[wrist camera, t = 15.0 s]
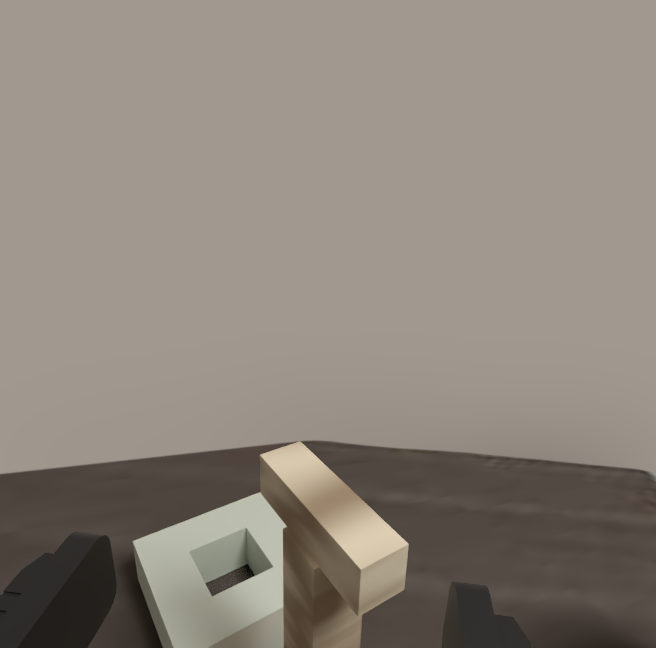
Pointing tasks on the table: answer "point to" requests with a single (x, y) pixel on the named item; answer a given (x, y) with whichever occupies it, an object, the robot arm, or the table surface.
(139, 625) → the table surface
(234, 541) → the socket block
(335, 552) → the t key
